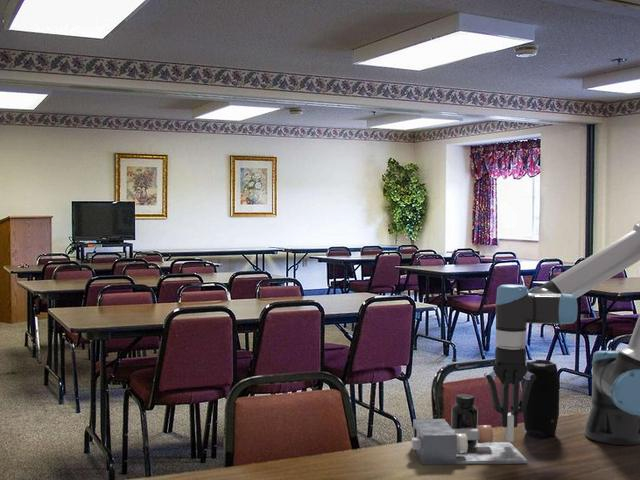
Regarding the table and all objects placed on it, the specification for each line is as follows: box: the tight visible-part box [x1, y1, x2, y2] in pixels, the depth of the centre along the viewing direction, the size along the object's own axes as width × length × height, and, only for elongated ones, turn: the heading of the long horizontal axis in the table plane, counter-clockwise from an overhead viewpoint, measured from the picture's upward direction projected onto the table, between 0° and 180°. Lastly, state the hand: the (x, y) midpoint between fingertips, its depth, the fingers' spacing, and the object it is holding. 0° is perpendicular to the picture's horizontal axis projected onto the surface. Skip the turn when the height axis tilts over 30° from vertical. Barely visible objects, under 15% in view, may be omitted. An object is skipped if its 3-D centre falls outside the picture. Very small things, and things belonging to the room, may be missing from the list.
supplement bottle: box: [450, 393, 479, 443], centre depth 198 cm, size 7×7×12 cm
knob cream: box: [410, 434, 468, 452], centre depth 184 cm, size 13×4×4 cm, turn 93°
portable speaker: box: [522, 359, 560, 439], centre depth 205 cm, size 9×9×20 cm
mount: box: [412, 418, 528, 466], centre depth 188 cm, size 25×14×7 cm, turn 93°
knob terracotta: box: [452, 424, 494, 443], centre depth 191 cm, size 13×4×4 cm, turn 93°
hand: (508, 439), depth 192 cm, fingers closed
